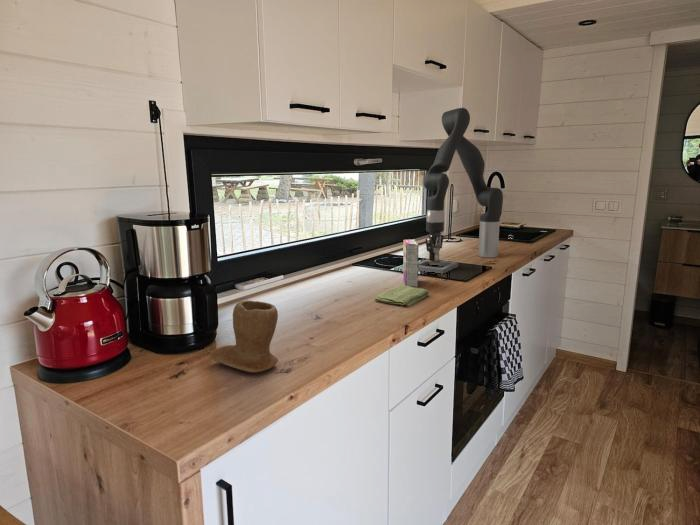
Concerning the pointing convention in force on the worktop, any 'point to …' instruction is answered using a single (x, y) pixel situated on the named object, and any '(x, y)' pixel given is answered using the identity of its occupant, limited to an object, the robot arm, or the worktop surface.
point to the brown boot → (250, 338)
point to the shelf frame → (446, 268)
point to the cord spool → (436, 255)
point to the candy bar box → (410, 262)
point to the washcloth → (402, 295)
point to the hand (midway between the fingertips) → (434, 259)
